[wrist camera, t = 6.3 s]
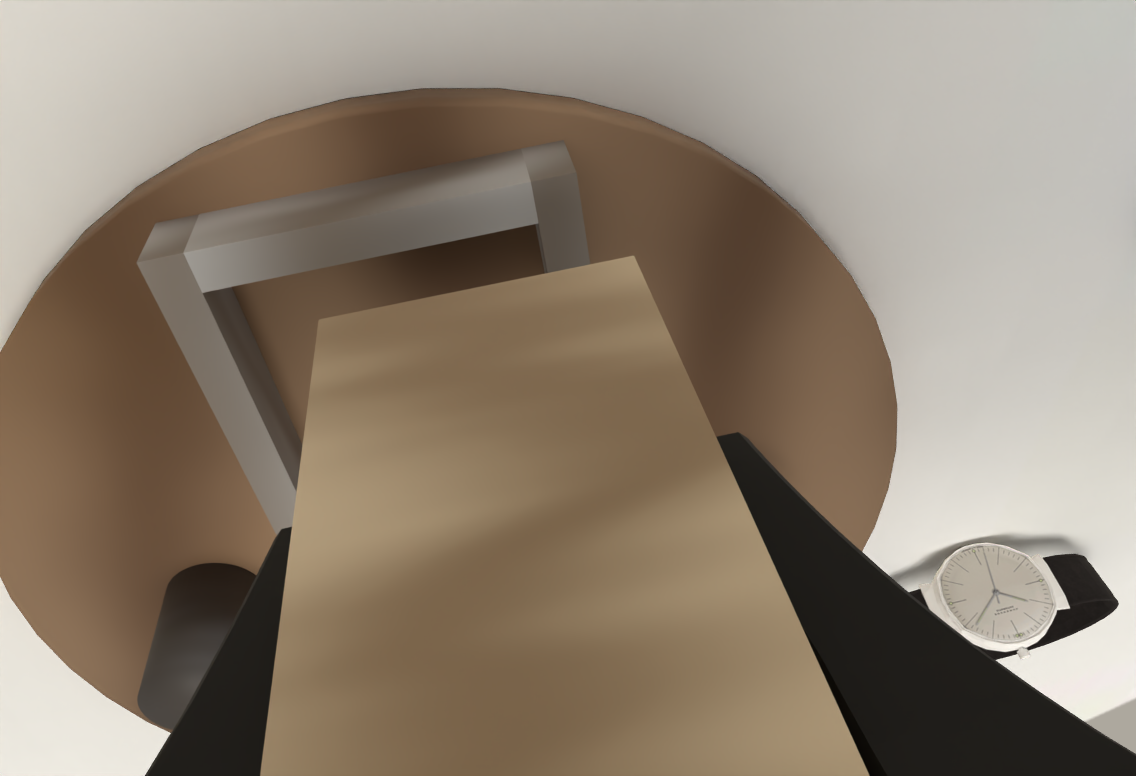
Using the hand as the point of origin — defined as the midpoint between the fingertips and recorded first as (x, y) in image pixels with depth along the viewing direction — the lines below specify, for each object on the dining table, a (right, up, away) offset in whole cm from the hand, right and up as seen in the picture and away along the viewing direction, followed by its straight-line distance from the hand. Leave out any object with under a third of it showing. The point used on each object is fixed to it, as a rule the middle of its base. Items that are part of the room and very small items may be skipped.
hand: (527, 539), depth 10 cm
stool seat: (-2, -1, +13) cm, 13 cm away
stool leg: (0, +1, +2) cm, 2 cm away
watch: (+13, -4, +18) cm, 23 cm away
